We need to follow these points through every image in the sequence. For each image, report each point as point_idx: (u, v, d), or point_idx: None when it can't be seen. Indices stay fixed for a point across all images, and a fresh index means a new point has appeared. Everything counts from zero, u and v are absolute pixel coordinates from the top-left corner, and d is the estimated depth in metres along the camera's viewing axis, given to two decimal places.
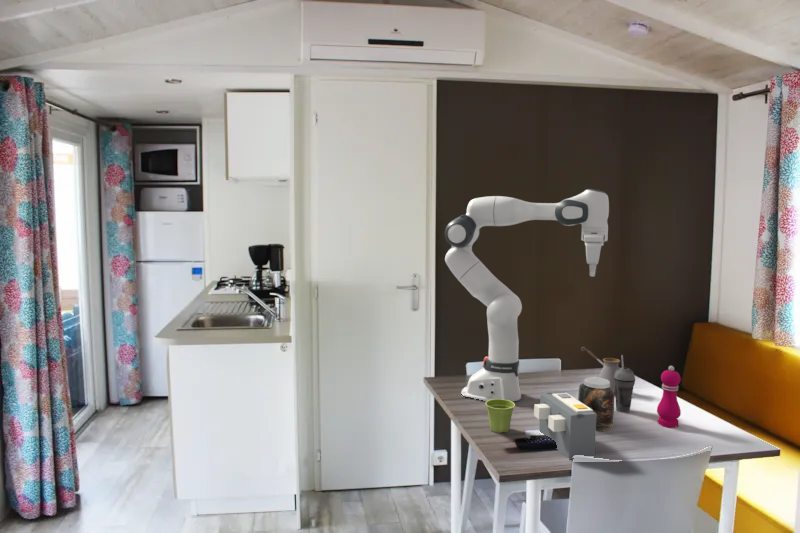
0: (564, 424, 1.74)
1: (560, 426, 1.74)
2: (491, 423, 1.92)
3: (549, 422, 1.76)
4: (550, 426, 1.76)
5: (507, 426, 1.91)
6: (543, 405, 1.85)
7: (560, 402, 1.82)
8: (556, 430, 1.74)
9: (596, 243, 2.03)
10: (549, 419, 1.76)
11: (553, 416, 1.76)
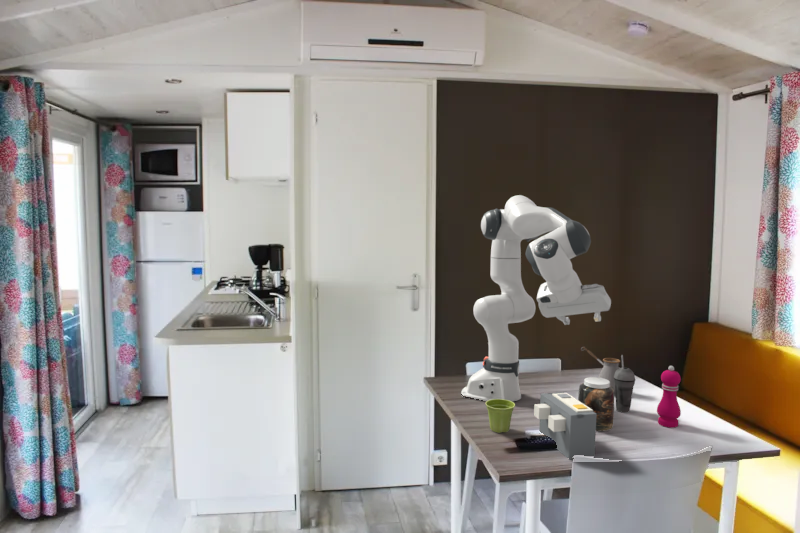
0: (564, 424, 1.74)
1: (560, 426, 1.74)
2: (491, 423, 1.92)
3: (549, 422, 1.76)
4: (550, 426, 1.76)
5: (507, 426, 1.91)
6: (543, 405, 1.85)
7: (560, 402, 1.82)
8: (556, 430, 1.74)
9: None
10: (549, 419, 1.76)
11: (553, 416, 1.76)
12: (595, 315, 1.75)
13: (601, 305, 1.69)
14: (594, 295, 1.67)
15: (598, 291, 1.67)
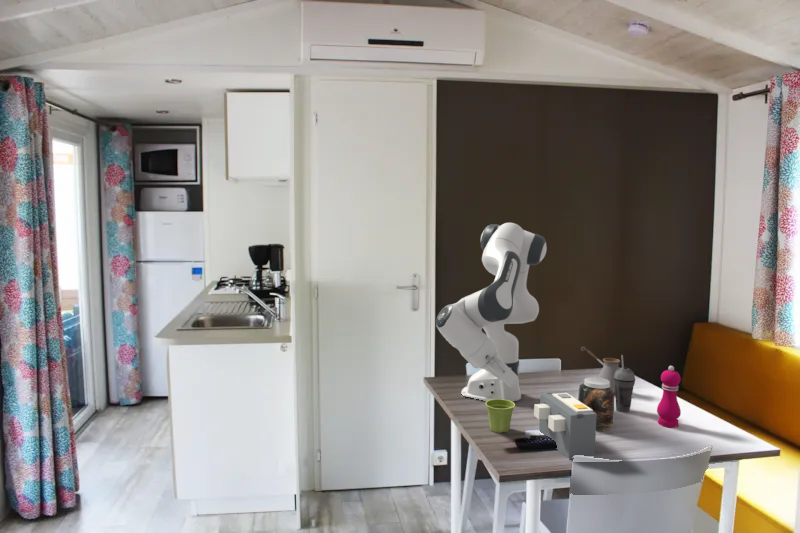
0: (564, 424, 1.74)
1: (560, 426, 1.74)
2: (491, 423, 1.92)
3: (549, 422, 1.76)
4: (550, 426, 1.76)
5: (507, 426, 1.91)
6: (543, 405, 1.85)
7: (560, 402, 1.82)
8: (556, 430, 1.74)
9: None
10: (549, 419, 1.76)
11: (553, 416, 1.76)
12: None
13: (502, 380, 1.61)
14: (492, 370, 1.61)
15: (495, 367, 1.60)
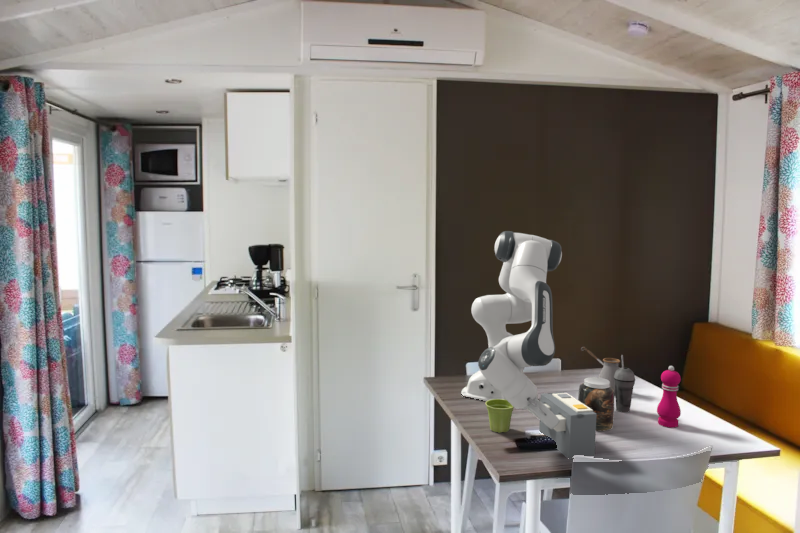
0: None
1: (563, 425, 1.74)
2: (491, 423, 1.92)
3: None
4: None
5: (507, 426, 1.91)
6: None
7: (560, 402, 1.82)
8: (559, 430, 1.74)
9: None
10: None
11: None
12: None
13: None
14: (534, 413, 1.65)
15: (537, 410, 1.64)
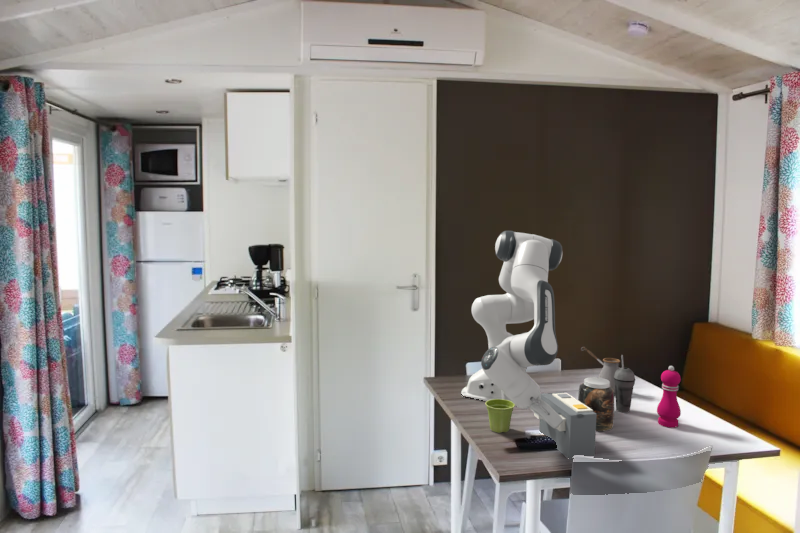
0: None
1: None
2: (491, 423, 1.92)
3: None
4: None
5: (507, 426, 1.91)
6: None
7: (560, 402, 1.82)
8: (562, 430, 1.74)
9: None
10: None
11: None
12: None
13: (547, 422, 1.66)
14: (537, 412, 1.65)
15: (541, 409, 1.64)
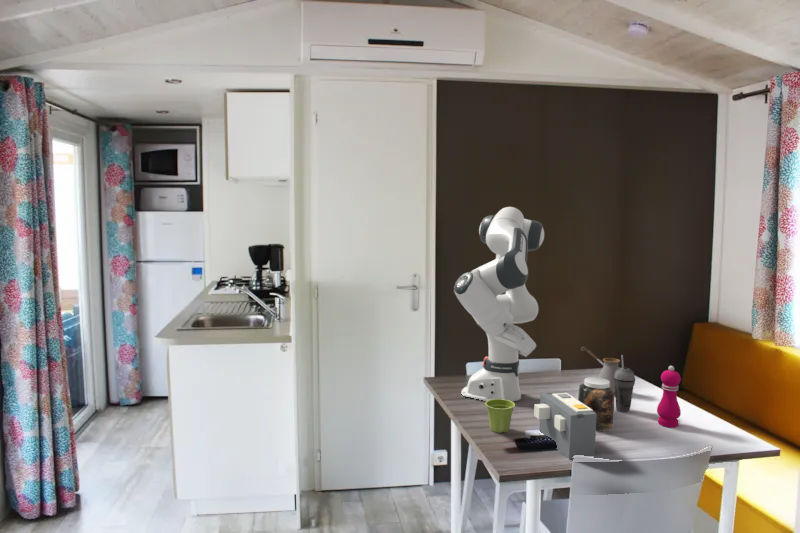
0: None
1: None
2: (491, 423, 1.92)
3: (555, 422, 1.77)
4: (556, 426, 1.76)
5: (507, 426, 1.91)
6: (543, 405, 1.85)
7: (560, 402, 1.82)
8: (562, 430, 1.74)
9: None
10: (555, 419, 1.77)
11: (559, 415, 1.77)
12: None
13: (521, 347, 1.62)
14: (511, 337, 1.62)
15: (515, 334, 1.61)
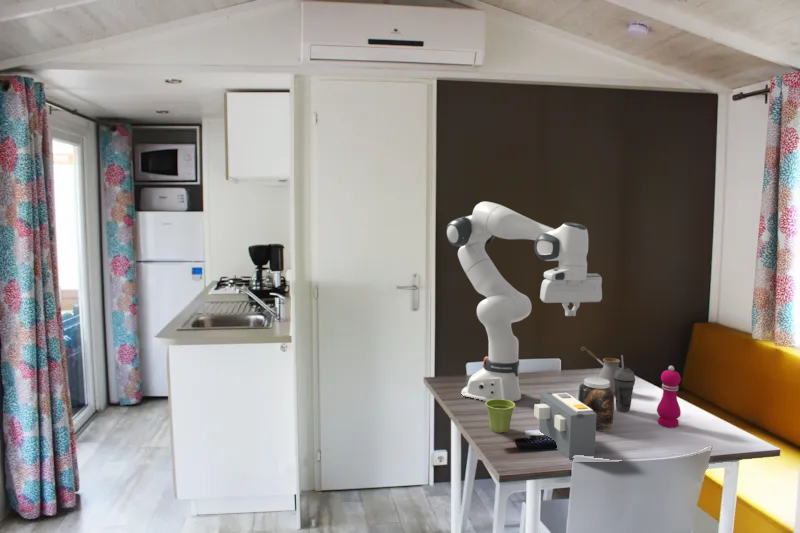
0: None
1: None
2: (491, 423, 1.92)
3: (555, 422, 1.77)
4: (556, 426, 1.76)
5: (507, 426, 1.91)
6: (543, 405, 1.85)
7: (560, 402, 1.82)
8: (562, 430, 1.74)
9: (548, 280, 1.91)
10: (555, 419, 1.77)
11: (559, 415, 1.77)
12: (571, 310, 1.95)
13: (598, 293, 1.94)
14: (596, 282, 1.93)
15: (598, 280, 1.94)
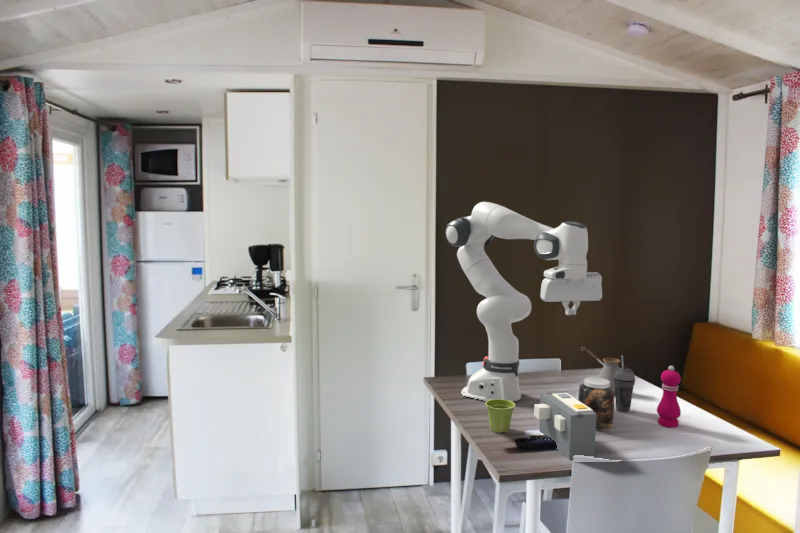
0: None
1: None
2: (491, 423, 1.92)
3: (555, 422, 1.77)
4: (556, 426, 1.76)
5: (507, 426, 1.91)
6: (543, 405, 1.85)
7: (560, 402, 1.82)
8: (562, 430, 1.74)
9: (549, 279, 1.91)
10: (555, 419, 1.77)
11: (559, 415, 1.77)
12: (571, 309, 1.95)
13: (598, 292, 1.94)
14: (596, 280, 1.94)
15: (598, 278, 1.95)
